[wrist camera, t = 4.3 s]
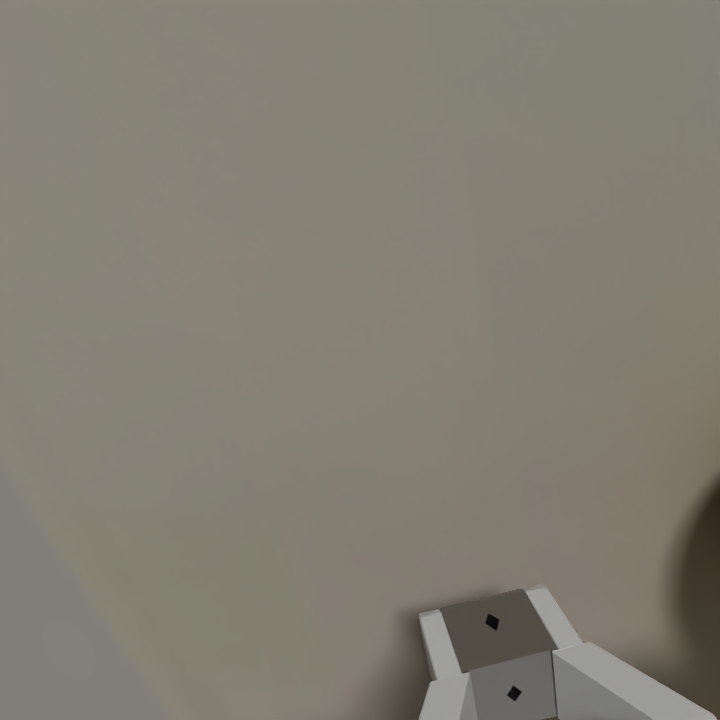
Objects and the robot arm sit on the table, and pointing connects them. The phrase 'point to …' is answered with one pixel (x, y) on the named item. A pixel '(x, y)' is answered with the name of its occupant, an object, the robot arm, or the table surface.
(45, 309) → the table surface
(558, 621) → the robot arm
